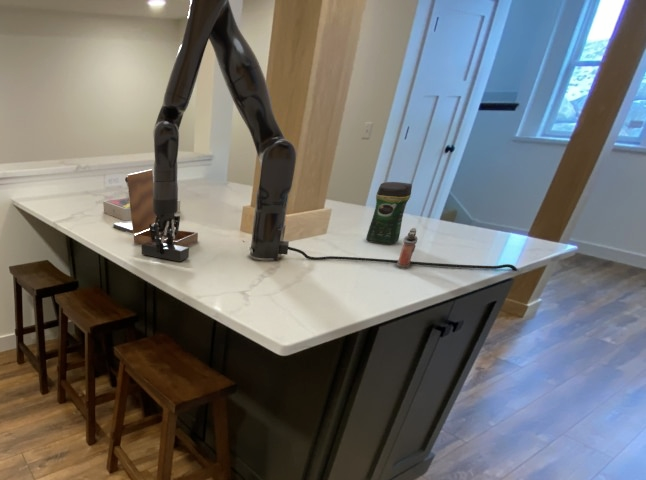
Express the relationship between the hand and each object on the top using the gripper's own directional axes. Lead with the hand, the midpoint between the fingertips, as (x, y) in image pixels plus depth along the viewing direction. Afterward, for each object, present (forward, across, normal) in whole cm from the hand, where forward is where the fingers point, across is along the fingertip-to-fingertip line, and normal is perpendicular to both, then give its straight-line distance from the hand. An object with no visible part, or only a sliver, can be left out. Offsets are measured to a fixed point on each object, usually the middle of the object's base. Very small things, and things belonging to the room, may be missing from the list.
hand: (164, 252), depth 143 cm
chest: (+2, +15, +10) cm, 18 cm away
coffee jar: (+2, +54, -52) cm, 75 cm away
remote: (+1, 0, 0) cm, 1 cm away
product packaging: (+2, +52, +49) cm, 72 cm away
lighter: (+2, +32, -64) cm, 71 cm away
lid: (-11, +14, +19) cm, 27 cm away
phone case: (+2, +26, +34) cm, 42 cm away
